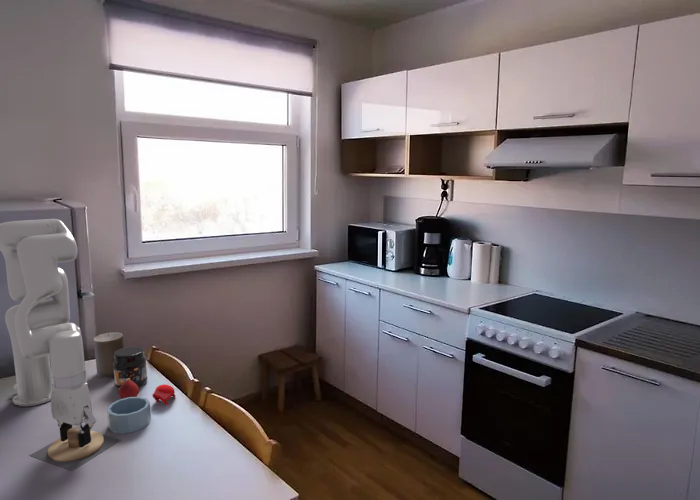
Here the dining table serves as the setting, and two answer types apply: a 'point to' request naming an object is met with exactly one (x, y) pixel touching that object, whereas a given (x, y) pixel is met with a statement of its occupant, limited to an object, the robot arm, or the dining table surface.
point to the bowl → (129, 414)
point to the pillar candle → (107, 352)
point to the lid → (74, 447)
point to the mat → (72, 465)
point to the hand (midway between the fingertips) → (76, 441)
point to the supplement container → (130, 366)
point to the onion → (128, 389)
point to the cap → (163, 393)
